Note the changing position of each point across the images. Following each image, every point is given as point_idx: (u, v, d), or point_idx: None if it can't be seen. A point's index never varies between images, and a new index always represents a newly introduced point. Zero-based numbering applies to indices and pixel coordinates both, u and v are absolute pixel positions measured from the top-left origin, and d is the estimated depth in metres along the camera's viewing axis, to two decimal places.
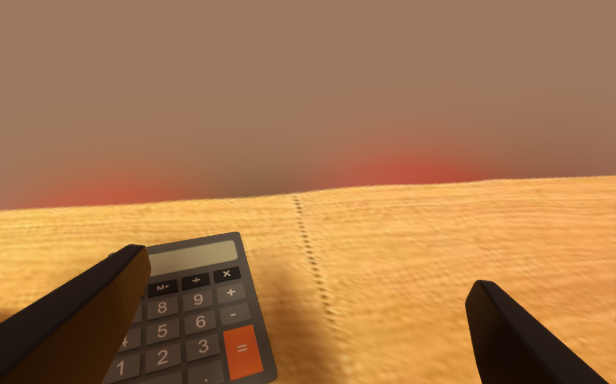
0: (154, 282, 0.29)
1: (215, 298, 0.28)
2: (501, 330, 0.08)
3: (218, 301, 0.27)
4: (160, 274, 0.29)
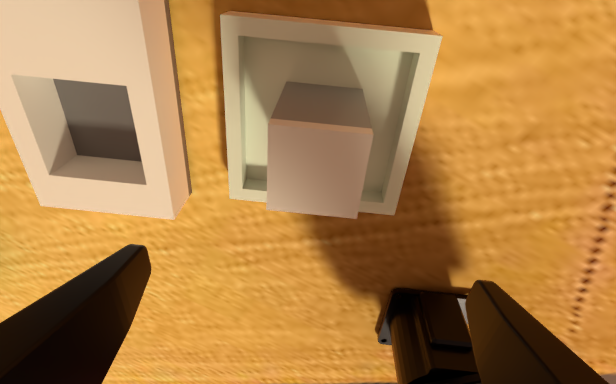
0: None
1: None
2: (501, 330, 0.08)
3: None
4: None
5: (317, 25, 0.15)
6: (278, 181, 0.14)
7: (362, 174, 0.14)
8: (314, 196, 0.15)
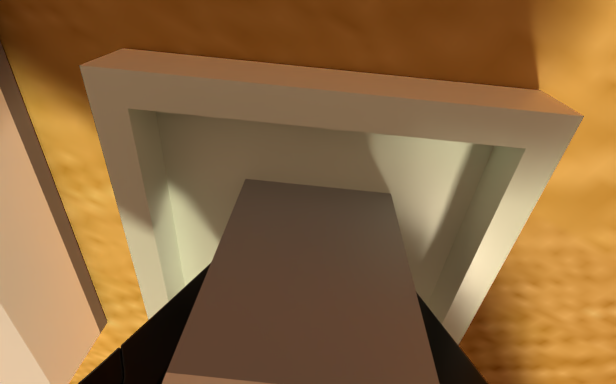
0: None
1: None
2: None
3: None
4: None
5: (299, 91, 0.07)
6: None
7: None
8: None
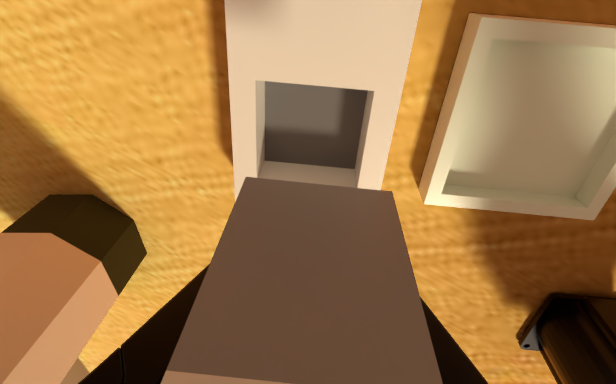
0: None
1: None
2: None
3: None
4: None
5: (582, 27, 0.15)
6: None
7: None
8: None
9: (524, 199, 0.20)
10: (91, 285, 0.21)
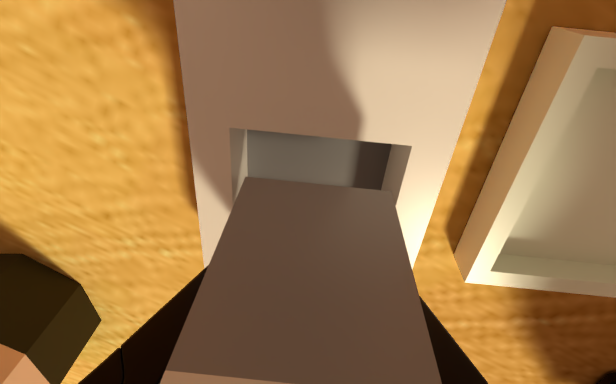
0: None
1: None
2: None
3: None
4: None
5: None
6: None
7: None
8: None
9: (601, 277, 0.15)
10: None
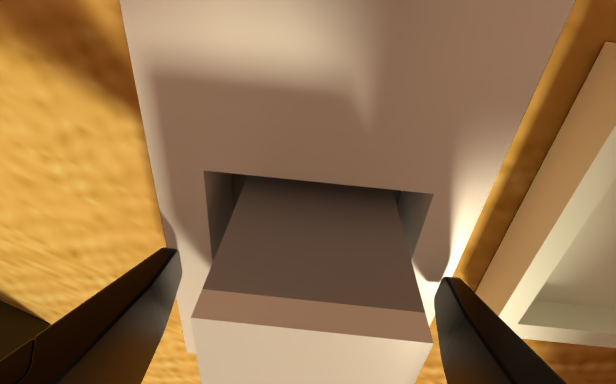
0: None
1: None
2: (462, 326, 0.08)
3: None
4: None
5: None
6: None
7: None
8: None
9: None
10: None
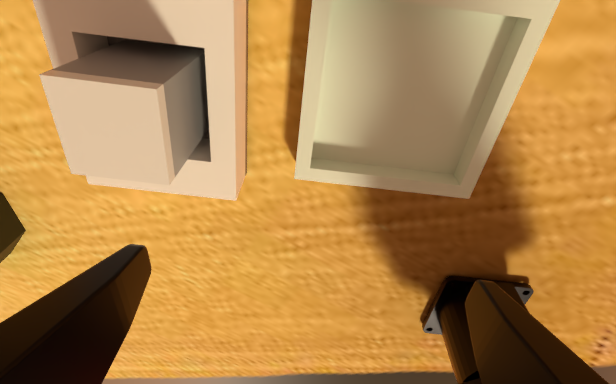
0: None
1: None
2: (501, 330, 0.08)
3: None
4: None
5: None
6: (73, 141, 0.13)
7: (159, 135, 0.13)
8: (117, 159, 0.14)
9: (397, 175, 0.19)
10: None
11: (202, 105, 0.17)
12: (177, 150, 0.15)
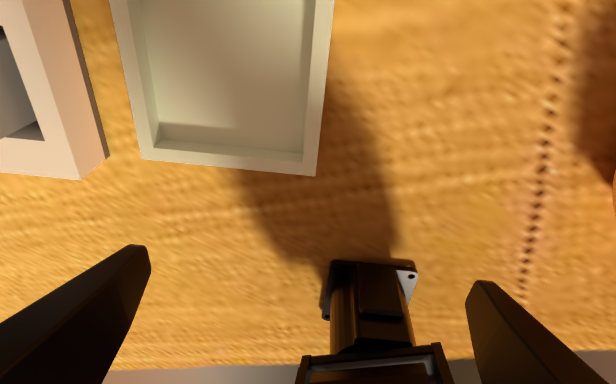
0: None
1: None
2: (501, 330, 0.08)
3: None
4: None
5: None
6: None
7: None
8: None
9: (242, 154, 0.20)
10: None
11: None
12: None
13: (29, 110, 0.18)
